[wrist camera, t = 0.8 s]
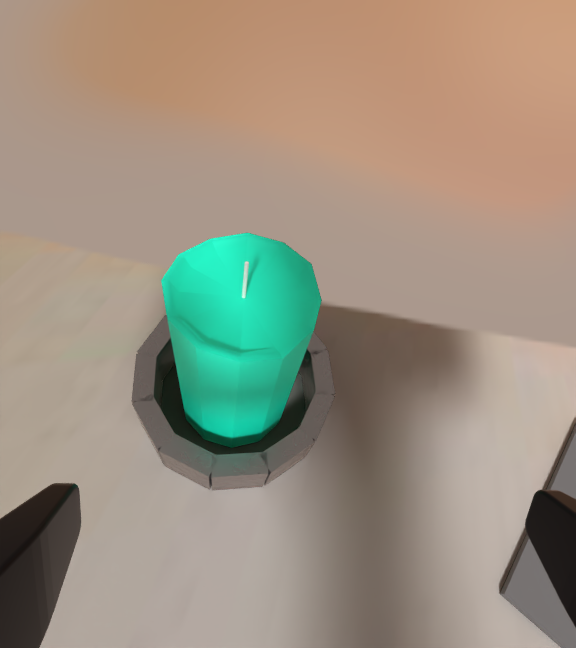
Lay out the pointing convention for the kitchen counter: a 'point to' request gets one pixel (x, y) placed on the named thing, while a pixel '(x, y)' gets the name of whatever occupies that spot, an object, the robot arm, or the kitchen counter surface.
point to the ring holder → (227, 467)
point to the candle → (239, 332)
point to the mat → (530, 576)
